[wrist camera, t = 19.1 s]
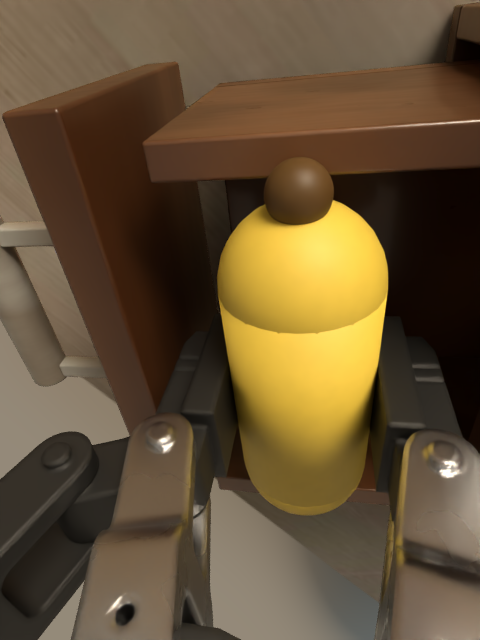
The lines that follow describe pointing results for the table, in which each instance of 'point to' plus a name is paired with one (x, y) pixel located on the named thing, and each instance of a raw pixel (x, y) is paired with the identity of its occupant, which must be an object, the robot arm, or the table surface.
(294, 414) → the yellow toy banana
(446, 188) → the drawer
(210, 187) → the table surface
